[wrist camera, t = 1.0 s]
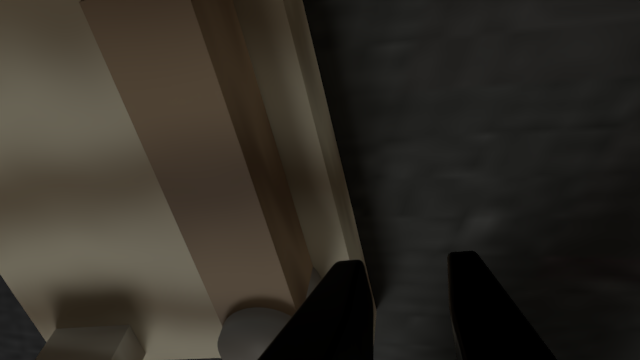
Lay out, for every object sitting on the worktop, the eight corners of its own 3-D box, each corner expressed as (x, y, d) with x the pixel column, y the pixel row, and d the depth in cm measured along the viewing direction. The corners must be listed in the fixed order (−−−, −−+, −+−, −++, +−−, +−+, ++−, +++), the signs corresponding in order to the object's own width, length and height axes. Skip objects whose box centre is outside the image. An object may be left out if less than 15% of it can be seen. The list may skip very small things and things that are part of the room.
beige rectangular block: (376, 310, 28) (368, 411, 23) (84, 326, 32) (28, 416, 27) (271, -129, 18) (222, -99, 13) (-135, -28, 22) (-281, 20, 17)
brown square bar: (330, 310, 25) (318, 382, 22) (255, 314, 25) (233, 384, 22) (223, -50, 17) (183, -15, 14) (119, -28, 18) (60, 10, 15)
